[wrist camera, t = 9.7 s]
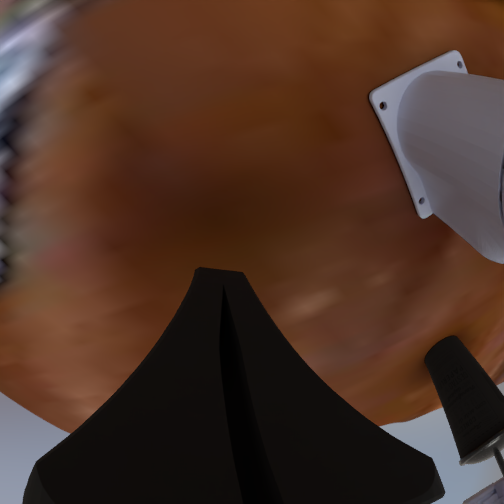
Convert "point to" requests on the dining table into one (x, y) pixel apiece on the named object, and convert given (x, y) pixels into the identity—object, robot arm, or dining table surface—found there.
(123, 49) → the dining table surface
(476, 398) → the drinking cup
